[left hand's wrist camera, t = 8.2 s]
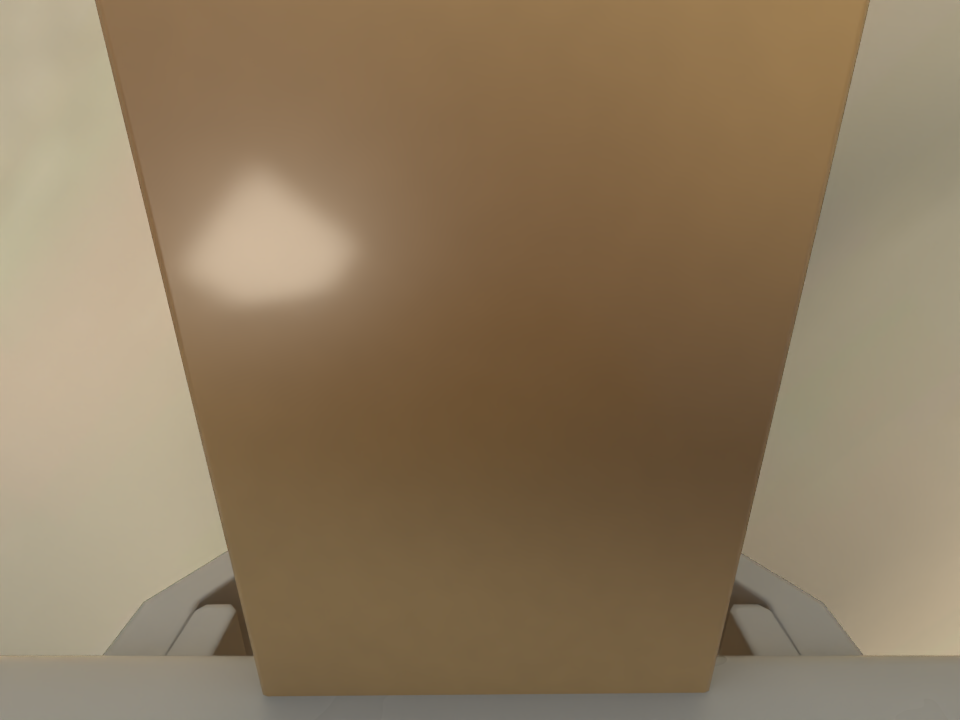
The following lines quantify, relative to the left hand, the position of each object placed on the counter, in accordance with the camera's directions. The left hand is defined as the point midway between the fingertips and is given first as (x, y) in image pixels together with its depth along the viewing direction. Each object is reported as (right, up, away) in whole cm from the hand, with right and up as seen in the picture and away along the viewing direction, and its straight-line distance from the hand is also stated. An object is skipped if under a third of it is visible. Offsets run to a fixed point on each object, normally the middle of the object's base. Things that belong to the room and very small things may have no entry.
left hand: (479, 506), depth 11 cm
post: (0, +34, -10) cm, 36 cm away
